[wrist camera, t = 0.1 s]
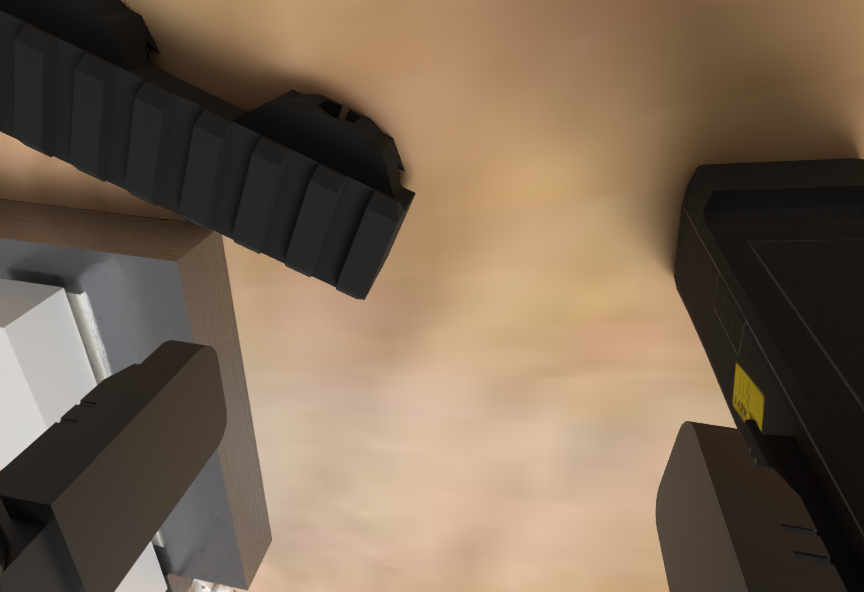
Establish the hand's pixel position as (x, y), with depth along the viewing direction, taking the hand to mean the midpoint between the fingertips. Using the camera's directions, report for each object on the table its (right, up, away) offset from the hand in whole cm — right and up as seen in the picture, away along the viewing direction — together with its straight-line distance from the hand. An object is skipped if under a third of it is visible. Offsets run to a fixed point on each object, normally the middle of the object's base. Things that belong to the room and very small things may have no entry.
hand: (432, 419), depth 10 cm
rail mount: (-11, +11, +17) cm, 23 cm away
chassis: (-20, -6, +28) cm, 35 cm away
